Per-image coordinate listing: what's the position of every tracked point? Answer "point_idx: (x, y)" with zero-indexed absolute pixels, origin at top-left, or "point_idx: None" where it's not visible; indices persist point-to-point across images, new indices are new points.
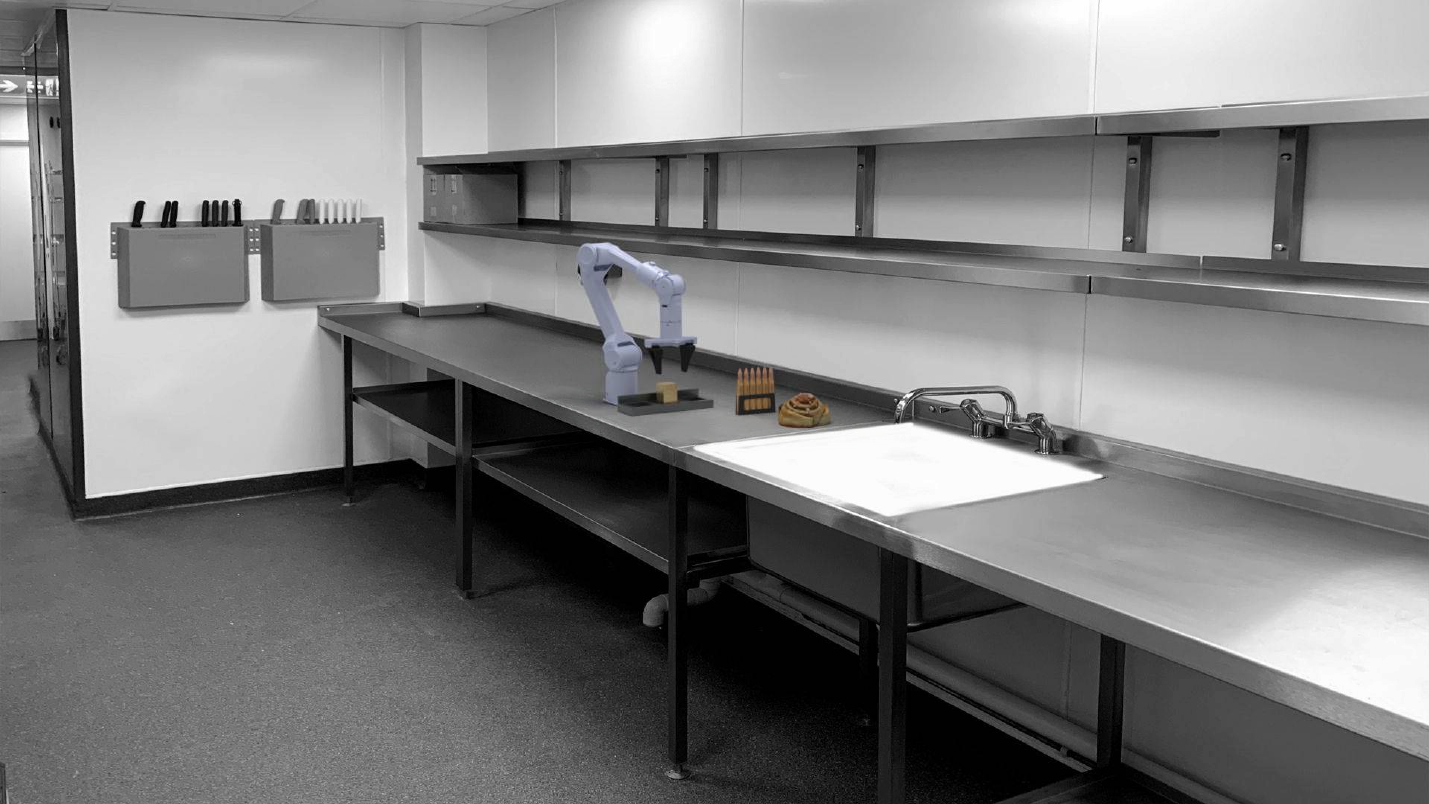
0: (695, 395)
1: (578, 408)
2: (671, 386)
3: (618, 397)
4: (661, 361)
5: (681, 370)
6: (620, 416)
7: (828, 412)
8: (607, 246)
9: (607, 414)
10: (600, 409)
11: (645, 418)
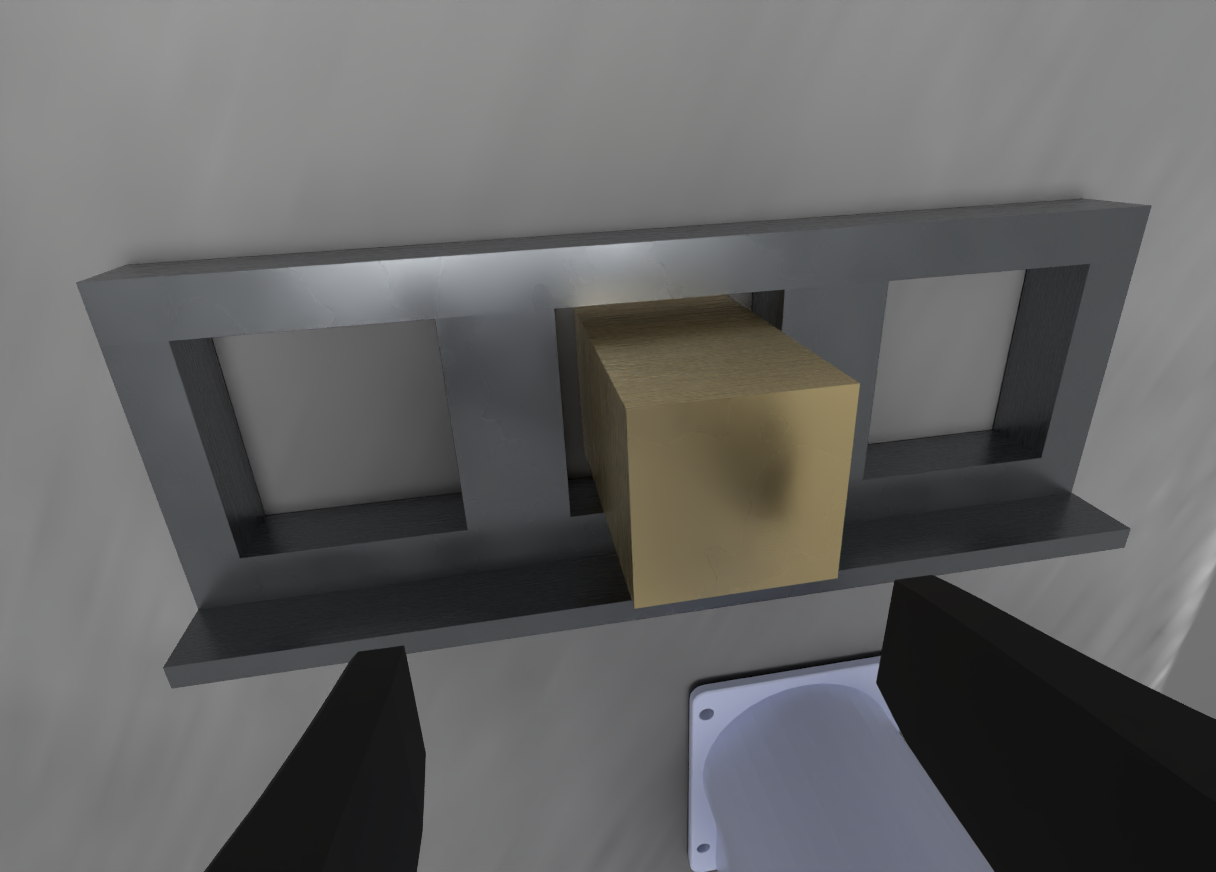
0: (238, 606)
1: (1131, 660)
2: (714, 384)
3: (1119, 522)
4: (1129, 736)
5: (423, 768)
6: (1156, 243)
7: None
8: None
9: (1160, 380)
10: (1060, 583)
11: (1076, 5)
